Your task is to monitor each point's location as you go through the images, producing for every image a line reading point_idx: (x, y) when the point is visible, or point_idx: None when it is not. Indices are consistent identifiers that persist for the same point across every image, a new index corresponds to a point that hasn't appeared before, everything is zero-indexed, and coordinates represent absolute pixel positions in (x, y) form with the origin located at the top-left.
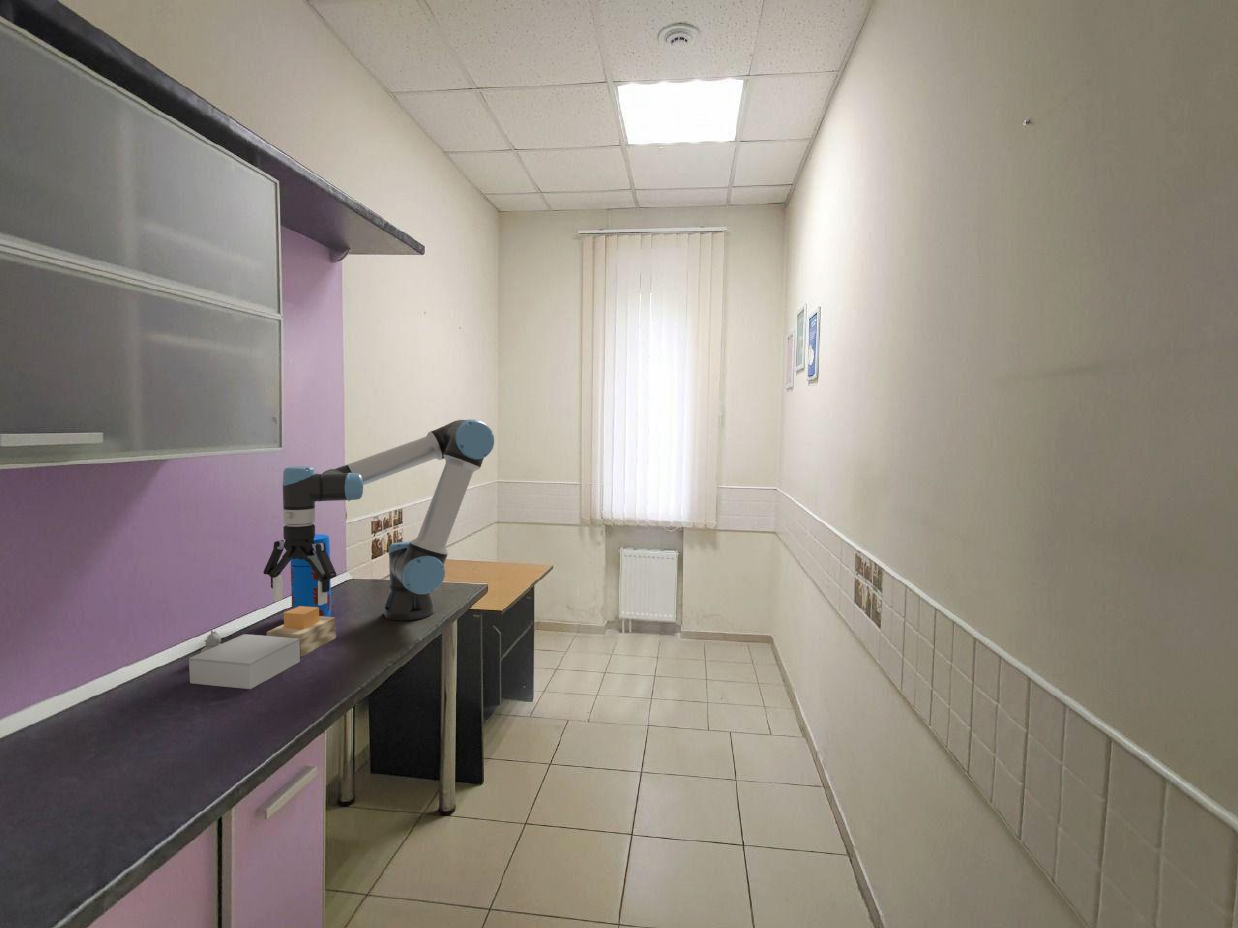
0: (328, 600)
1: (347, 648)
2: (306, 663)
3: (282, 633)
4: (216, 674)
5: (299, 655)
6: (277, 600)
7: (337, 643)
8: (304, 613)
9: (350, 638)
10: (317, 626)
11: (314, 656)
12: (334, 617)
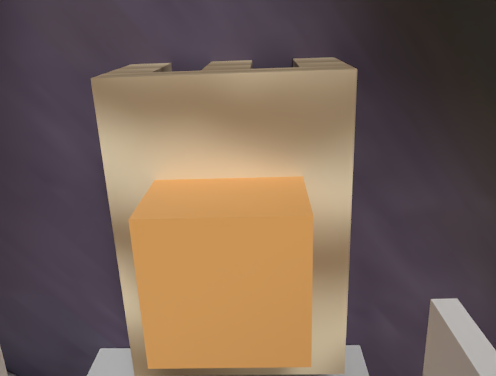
0: None
1: (485, 181)
2: (397, 352)
3: (232, 373)
4: None
5: (364, 364)
6: (3, 367)
7: (395, 133)
8: (304, 353)
9: (424, 48)
10: (349, 251)
11: (384, 290)
12: (351, 73)
